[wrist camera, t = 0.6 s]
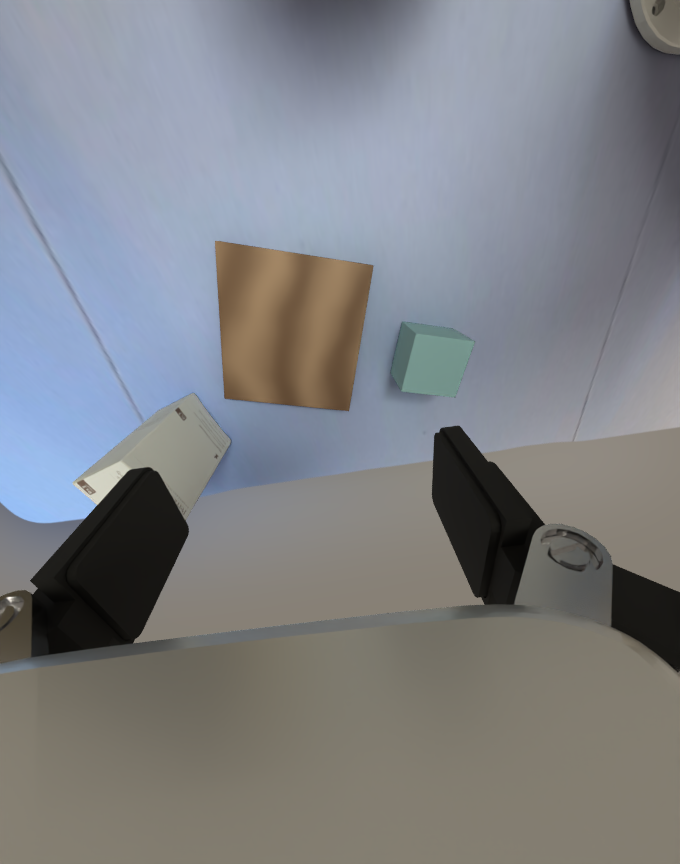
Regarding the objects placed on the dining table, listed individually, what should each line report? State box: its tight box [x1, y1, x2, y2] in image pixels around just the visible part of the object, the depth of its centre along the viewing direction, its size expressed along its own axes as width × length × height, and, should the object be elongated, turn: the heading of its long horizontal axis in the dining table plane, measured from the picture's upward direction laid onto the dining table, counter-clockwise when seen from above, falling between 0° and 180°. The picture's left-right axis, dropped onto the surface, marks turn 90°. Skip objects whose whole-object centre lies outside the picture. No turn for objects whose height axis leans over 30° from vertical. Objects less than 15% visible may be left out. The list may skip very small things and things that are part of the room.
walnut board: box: [215, 241, 373, 411], centre depth 33 cm, size 15×16×2 cm
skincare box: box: [73, 393, 231, 521], centre depth 33 cm, size 8×6×15 cm
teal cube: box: [390, 322, 475, 397], centre depth 33 cm, size 6×6×6 cm
